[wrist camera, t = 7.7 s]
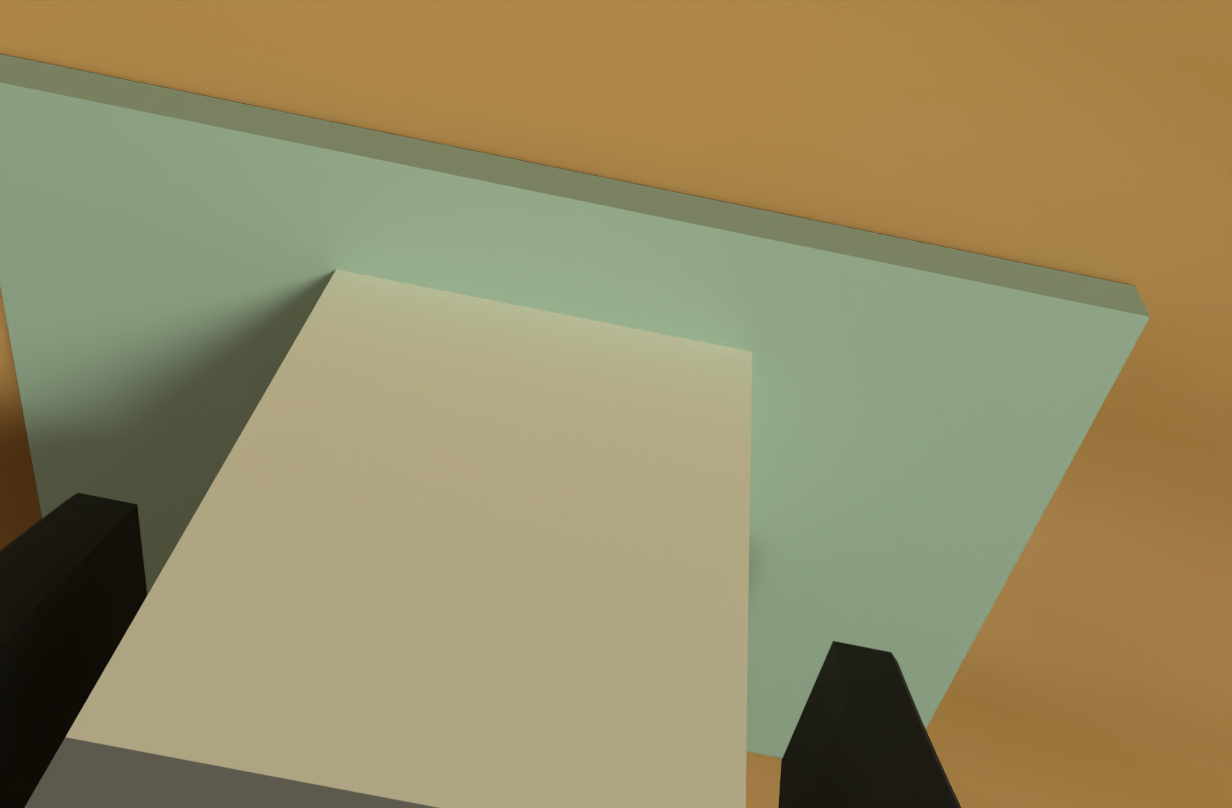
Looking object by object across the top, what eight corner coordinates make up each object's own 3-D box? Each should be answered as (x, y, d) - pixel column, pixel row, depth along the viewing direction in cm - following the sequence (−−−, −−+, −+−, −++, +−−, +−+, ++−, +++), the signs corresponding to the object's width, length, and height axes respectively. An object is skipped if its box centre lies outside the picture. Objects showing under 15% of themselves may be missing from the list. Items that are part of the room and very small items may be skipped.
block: (751, 351, 12) (741, 1022, 7) (650, 702, 16) (588, 1325, 10) (335, 269, 12) (-17, 879, 7) (328, 640, 16) (93, 1236, 10)
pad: (1133, 286, 12) (1150, 316, 12) (893, 744, 17) (897, 780, 17) (-6, 52, 12) (-38, 74, 11) (80, 587, 17) (60, 618, 16)
